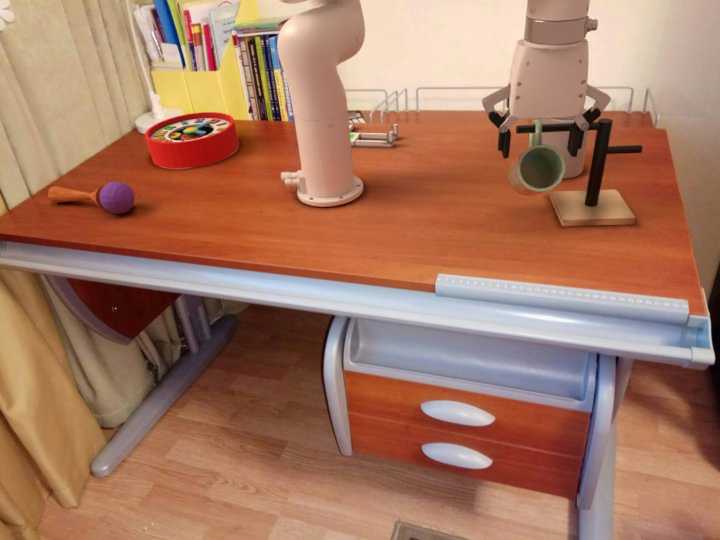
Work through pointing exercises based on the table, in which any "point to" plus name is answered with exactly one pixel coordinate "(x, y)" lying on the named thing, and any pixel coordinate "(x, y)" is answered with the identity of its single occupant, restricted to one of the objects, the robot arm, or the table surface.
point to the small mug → (536, 166)
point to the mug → (560, 143)
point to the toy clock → (192, 140)
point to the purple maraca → (98, 196)
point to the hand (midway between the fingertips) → (537, 154)
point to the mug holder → (591, 183)
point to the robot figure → (374, 138)
